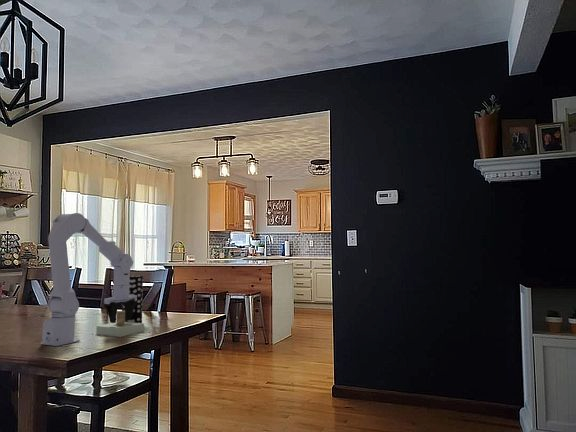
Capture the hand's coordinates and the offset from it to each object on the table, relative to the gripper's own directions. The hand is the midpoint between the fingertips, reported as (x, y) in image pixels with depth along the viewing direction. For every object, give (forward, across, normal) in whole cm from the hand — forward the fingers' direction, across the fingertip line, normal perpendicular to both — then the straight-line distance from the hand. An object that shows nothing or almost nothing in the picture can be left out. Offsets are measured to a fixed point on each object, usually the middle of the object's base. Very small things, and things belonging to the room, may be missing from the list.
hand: (120, 321), depth 176 cm
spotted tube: (+4, +18, +12) cm, 22 cm away
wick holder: (+4, 0, 0) cm, 4 cm away
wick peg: (+4, 0, 0) cm, 4 cm away
